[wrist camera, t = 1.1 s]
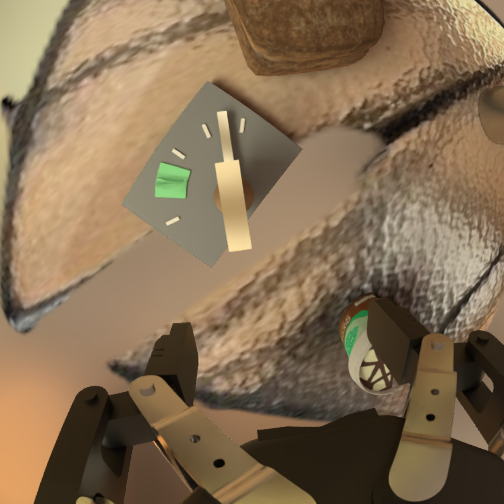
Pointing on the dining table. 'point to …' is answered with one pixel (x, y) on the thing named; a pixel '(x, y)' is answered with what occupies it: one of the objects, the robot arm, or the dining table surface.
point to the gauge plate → (206, 171)
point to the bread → (304, 33)
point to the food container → (363, 349)
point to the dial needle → (232, 192)
